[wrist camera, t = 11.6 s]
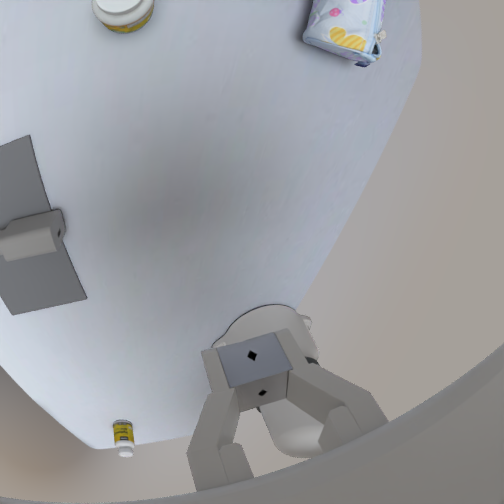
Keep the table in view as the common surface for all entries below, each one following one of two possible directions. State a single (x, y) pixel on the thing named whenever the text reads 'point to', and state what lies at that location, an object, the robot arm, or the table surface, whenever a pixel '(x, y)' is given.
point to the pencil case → (347, 28)
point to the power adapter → (32, 236)
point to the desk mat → (40, 266)
